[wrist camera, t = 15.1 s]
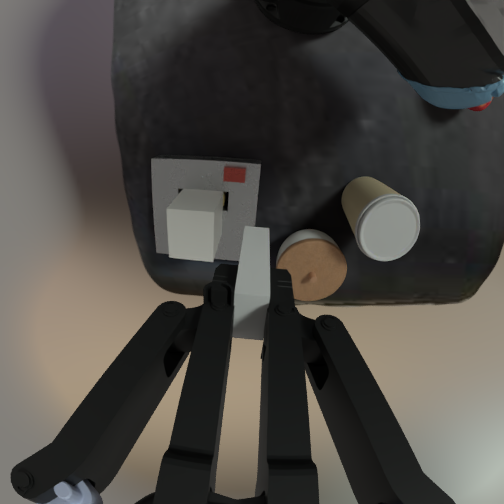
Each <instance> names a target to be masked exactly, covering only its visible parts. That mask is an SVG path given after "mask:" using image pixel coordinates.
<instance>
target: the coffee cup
mask: <svg viewBox="0 0 504 504" xmlns="http://www.w3.org/2000/svg"><path fill="white" fill-rule="evenodd" d="M342 207H343V210H344V212H345V215H346V217H347V219H348V222H349V224H350V226H351V228H352V231H353V233H354V235H355V238H356V241H357V244H358V246H359V248H360V249H361V251H362V252H363V253H364V254H365V255H366V256H368V257H370V258H372V259H375V260H379V261H391V260H394V259H397V258H399V257H401V256H403V255H404V254H405V253H407V252H408V251H409V250H410V249H411V248H412V246H413V245H414V243H415V242H416V240H417V237H418V235H419V230H420V219H419V214H418V211H417V209H416V207H415V205H414V204H413V203H412V202H411V201H410V200H409V199H407V198H406V197H404V196H402V195H400V194H399V193H397V192H396V191H394V190H392V189H391V188H389V187H388V186H386V185H384V184H383V183H381V182H379V181H378V180H376V179H374V178H371V177H358V178H356V179H354V180H352V181H351V182H350V183H348V185H347V186H346V187H345V189H344V191H343V194H342Z"/></svg>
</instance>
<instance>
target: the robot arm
mask: <svg viewBox="0 0 504 504" xmlns="http://www.w3.org/2000/svg"><path fill="white" fill-rule="evenodd" d="M255 1H256V4H257V6H258V7H259V9H260V10H261V11H262V13H263V14H264V15H265V16H266V17H267V18H269V19H270V20H271V21H273V22H274V23H276V24H277V25H279V26H281V27H283V28H286V29H288V30H291V31H294V32H299V33H305V34H322V33H327V32H331V31H334V30H336V29H338V28H340V27H342V26H343V25H345V24H346V23H347V22H348V21H350V22H351V23H352V24H354V25H355V26H356V27H357V28H358V29H359V30H360V31H361V32H362V33H363V34H364V35H365V36H366V37H367V38H368V39H369V40H370V41H371V42H372V43H373V44H374V45H375V46H376V47H377V48H378V49H379V50H380V51H381V52H382V53H383V54H384V55H385V56H386V57H387V58H388V59H389V61H390V62H391V63H392V64H393V65H394V66H395V67H396V68H397V72H398V73H399V75H400V76H401V77H402V78H403V79H404V80H406V81H407V82H408V83H409V84H410V85H411V86H412V87H413V88H414V90H415V91H416V92H417V93H418V94H419V95H420V97H421V98H423V99H424V100H425V101H427V102H429V103H430V104H432V105H434V106H437V107H440V108H446V109H465V108H471V107H476V106H480V105H483V104H485V103H488V102H490V101H492V97H494V96H495V97H499V96H500V95H501V94H503V93H504V0H255ZM292 287H293V286H292V277H291V274H290V273H289V272H288V270H287V269H277V268H270V240H269V228H261V227H251V226H245V228H244V234H243V241H242V247H241V253H240V260H239V265H229V264H220V265H219V266H218V267H217V268H216V270H215V273H214V277H213V281H212V282H211V283H209V284H207V285H206V286H205V287H204V289H203V294H204V304H202V305H201V306H198V307H195V308H187V309H186V308H185V306H184V305H183V304H181V303H179V302H176V301H167V302H164V303H162V304H161V305H159V306H158V307H157V308H156V310H155V311H154V312H153V313H152V314H151V316H150V317H149V318H148V319H147V321H146V322H145V323H144V324H143V325H142V327H141V328H140V329H139V330H138V331H137V333H136V334H135V335H134V336H133V338H132V339H131V340H130V341H129V343H128V344H127V345H126V346H125V347H124V349H123V350H122V351H121V353H120V354H119V355H118V356H117V357H116V359H115V360H114V361H113V363H112V364H111V365H110V366H109V368H108V369H107V370H106V371H105V373H104V374H103V375H102V377H101V378H100V379H99V380H98V382H97V383H96V384H95V386H94V387H93V388H92V390H91V391H90V392H89V394H88V395H87V396H86V397H85V399H84V400H83V401H82V403H81V404H80V405H79V407H78V408H77V409H76V411H75V412H74V413H73V415H72V416H71V417H70V419H69V420H68V421H67V423H66V424H65V425H64V427H63V428H62V430H61V431H60V433H59V434H58V435H57V436H56V438H55V439H54V441H53V442H52V443H50V444H49V445H47V446H46V447H44V448H43V449H41V450H40V451H38V452H36V453H35V454H33V455H32V456H30V457H28V458H27V459H25V460H24V461H22V462H20V463H19V464H17V465H16V466H15V467H14V468H13V469H12V472H11V483H12V485H13V488H14V489H15V491H16V492H17V493H18V494H19V495H21V496H22V497H23V498H26V499H28V500H30V501H32V502H35V503H36V504H103V501H102V498H101V496H100V493H101V492H102V491H104V489H105V488H106V487H107V486H108V485H109V484H110V483H111V481H112V480H113V479H114V477H115V476H116V474H117V473H118V471H119V469H120V468H121V466H122V464H123V463H124V461H125V459H126V458H127V456H128V454H129V453H130V451H131V449H132V448H133V446H134V444H135V443H136V441H137V439H138V438H139V436H140V434H141V433H142V431H143V429H144V428H145V426H146V424H147V423H148V421H149V419H150V418H151V416H152V414H153V413H154V411H155V409H156V408H157V406H158V404H159V403H160V401H161V400H162V398H163V396H164V394H165V393H166V391H167V390H168V388H169V386H170V385H171V383H172V381H173V379H174V378H175V376H176V375H177V373H178V371H179V370H180V368H181V366H182V365H183V363H184V361H185V360H186V358H187V356H188V355H189V352H191V355H190V359H189V363H188V367H187V371H186V375H185V379H184V383H183V387H182V392H181V397H180V400H179V405H178V409H177V413H176V418H175V423H174V427H173V431H172V436H171V441H170V445H169V448H168V450H167V451H166V452H165V453H164V455H163V459H162V462H161V466H160V471H159V476H158V481H157V485H156V491H155V492H154V493H151V494H149V495H147V496H145V497H144V498H142V499H141V500H139V501H138V502H136V503H135V504H319V489H318V473H317V467H316V465H315V463H314V462H313V461H312V458H311V444H310V429H309V415H308V402H307V390H306V379H305V371H306V373H307V376H308V378H309V381H310V383H311V386H312V388H313V391H314V393H315V396H316V399H317V401H318V403H319V406H320V409H321V411H322V413H323V416H324V419H325V421H326V424H327V426H328V429H329V431H330V434H331V436H332V439H333V442H334V444H335V447H336V449H337V452H338V454H339V457H340V460H341V462H342V465H343V467H344V470H345V472H346V475H347V477H348V480H349V483H350V485H351V488H352V490H353V493H354V495H355V497H356V499H357V502H358V504H455V502H454V501H453V499H451V498H450V497H449V496H448V495H447V494H446V493H445V492H444V491H442V489H440V488H439V487H438V486H437V485H436V484H435V483H433V481H432V480H431V479H429V477H427V476H426V475H425V474H424V473H423V471H422V469H421V467H420V465H419V463H418V461H417V459H416V457H415V455H414V453H413V451H412V449H411V447H410V445H409V443H408V441H407V439H406V437H405V435H404V433H403V431H402V429H401V427H400V425H399V423H398V421H397V419H396V418H395V416H394V414H393V412H392V410H391V408H390V406H389V405H388V402H387V401H386V399H385V397H384V395H383V393H382V391H381V390H380V388H379V386H378V384H377V382H376V380H375V379H374V377H373V375H372V373H371V371H370V370H369V368H368V366H367V364H366V363H365V361H364V359H363V357H362V356H361V354H360V352H359V350H358V348H357V347H356V345H355V343H354V342H353V340H352V338H351V336H350V335H349V333H348V331H347V330H346V328H345V326H344V325H343V323H342V322H341V321H340V320H339V319H338V318H337V317H335V316H332V315H321V316H319V317H318V318H316V320H313V319H310V318H307V317H305V316H303V315H301V314H300V313H299V312H298V310H297V308H296V307H295V303H294V294H293V288H292ZM232 337H234V338H244V339H255V340H263V338H264V342H263V347H262V353H261V359H262V374H261V402H260V404H261V405H260V429H259V451H258V473H257V483H256V489H255V497H253V498H246V499H239V500H236V499H232V498H229V497H226V496H223V495H220V494H217V493H215V481H216V469H217V461H218V452H219V443H220V435H221V427H222V417H223V409H224V402H225V393H226V385H227V376H228V369H229V361H230V352H231V343H232Z"/></svg>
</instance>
